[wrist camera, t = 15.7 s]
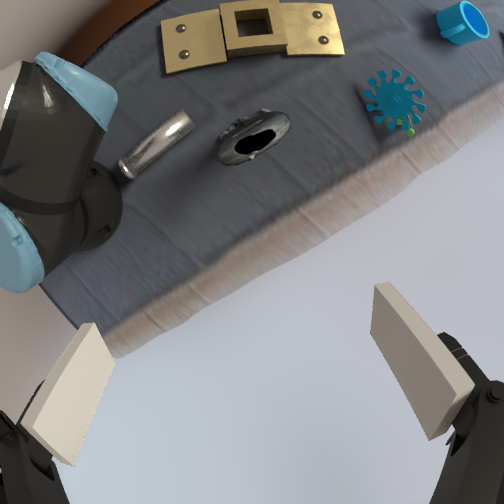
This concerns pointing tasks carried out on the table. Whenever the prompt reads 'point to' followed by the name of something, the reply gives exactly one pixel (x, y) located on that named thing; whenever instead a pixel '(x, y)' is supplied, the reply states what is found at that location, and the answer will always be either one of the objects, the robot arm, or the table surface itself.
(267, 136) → the electronic device
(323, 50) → the hinge leaves
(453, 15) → the mug
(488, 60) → the table surface
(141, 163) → the hinge pin
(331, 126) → the table surface
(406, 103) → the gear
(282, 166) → the table surface
